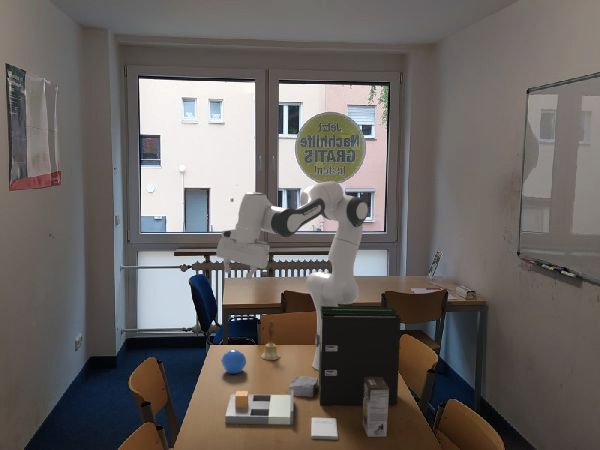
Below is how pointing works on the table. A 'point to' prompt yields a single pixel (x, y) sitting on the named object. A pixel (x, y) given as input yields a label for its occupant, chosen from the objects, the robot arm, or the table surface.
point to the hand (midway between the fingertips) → (237, 275)
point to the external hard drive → (324, 428)
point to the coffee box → (375, 406)
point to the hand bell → (270, 346)
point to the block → (241, 399)
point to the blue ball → (233, 361)
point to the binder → (357, 352)
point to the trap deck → (262, 410)
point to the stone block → (303, 386)
